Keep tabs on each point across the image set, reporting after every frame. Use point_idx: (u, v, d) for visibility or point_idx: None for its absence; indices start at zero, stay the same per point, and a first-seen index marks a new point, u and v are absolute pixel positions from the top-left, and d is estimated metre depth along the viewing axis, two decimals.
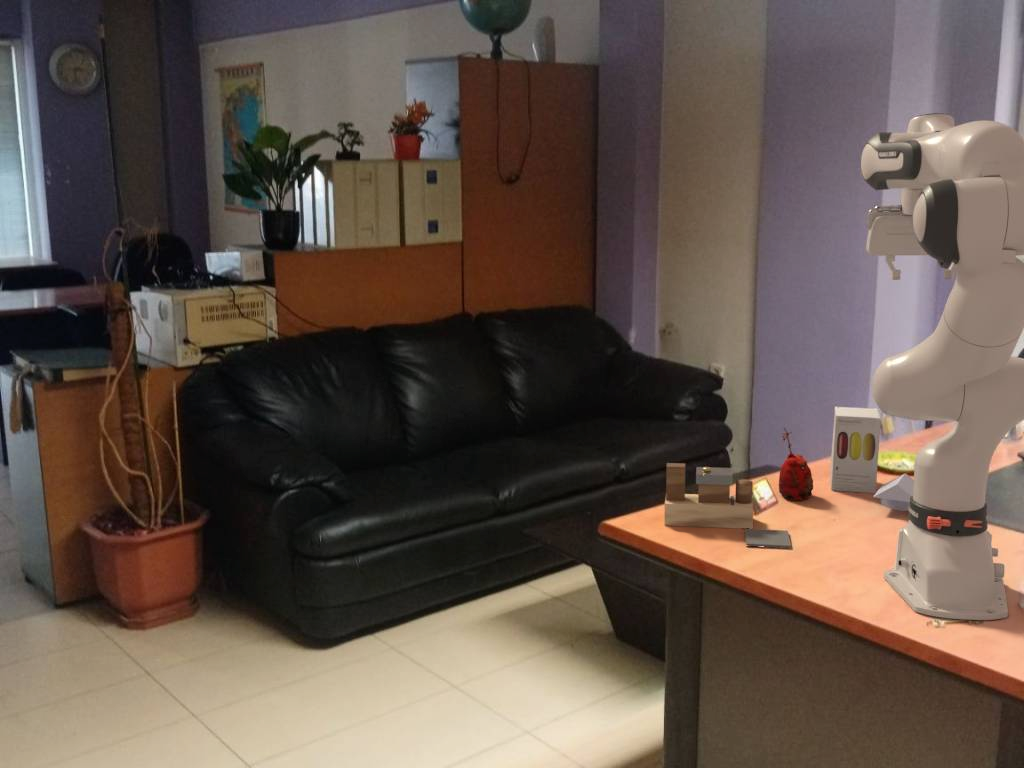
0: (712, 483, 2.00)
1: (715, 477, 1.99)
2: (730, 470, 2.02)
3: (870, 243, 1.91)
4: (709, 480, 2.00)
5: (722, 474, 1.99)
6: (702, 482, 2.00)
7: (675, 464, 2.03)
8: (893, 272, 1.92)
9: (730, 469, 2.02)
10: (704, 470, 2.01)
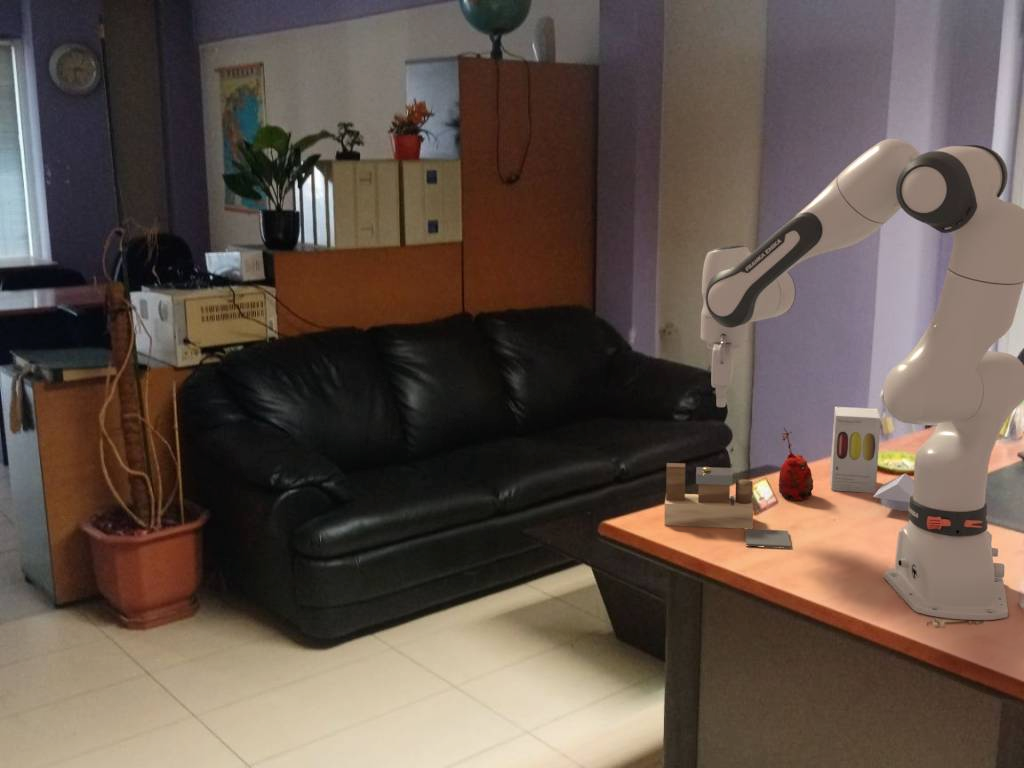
0: (712, 483, 2.00)
1: (715, 477, 1.99)
2: (730, 470, 2.02)
3: (730, 376, 1.88)
4: (709, 480, 2.00)
5: (722, 474, 1.99)
6: (702, 482, 2.00)
7: (675, 464, 2.03)
8: (725, 399, 1.93)
9: (730, 469, 2.02)
10: (704, 470, 2.01)
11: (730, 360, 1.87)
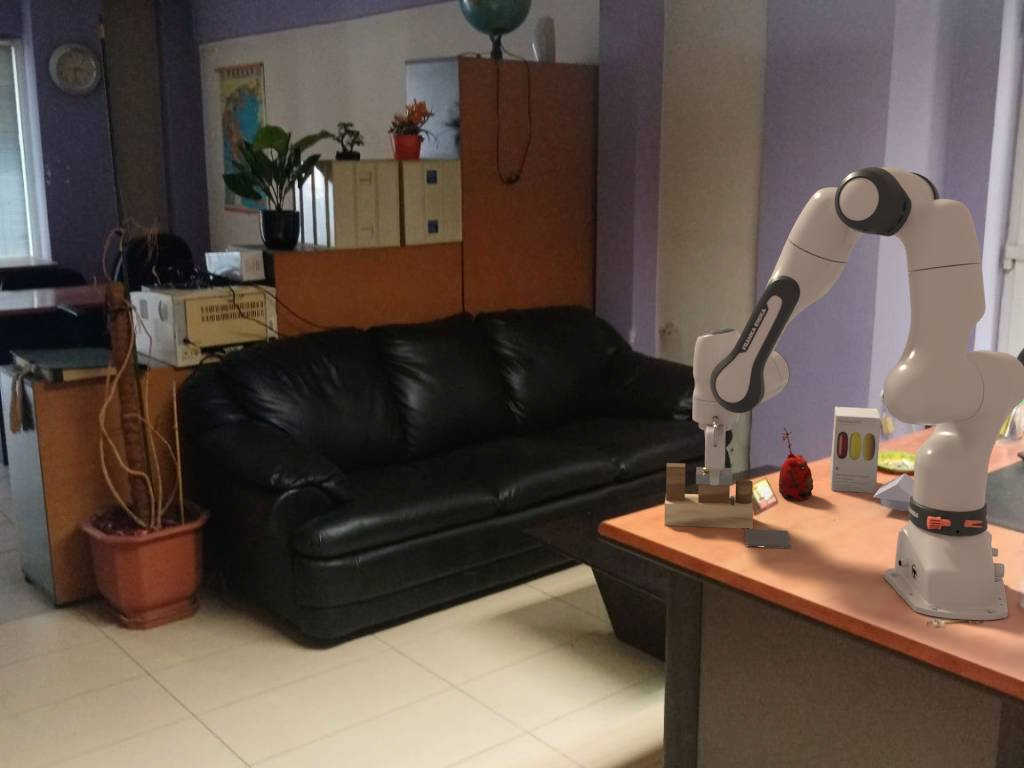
0: None
1: None
2: (730, 470, 2.02)
3: (724, 459, 1.91)
4: (709, 480, 2.00)
5: (722, 474, 1.99)
6: (702, 482, 2.00)
7: (675, 464, 2.03)
8: None
9: (730, 469, 2.02)
10: (704, 470, 2.01)
11: (723, 443, 1.90)
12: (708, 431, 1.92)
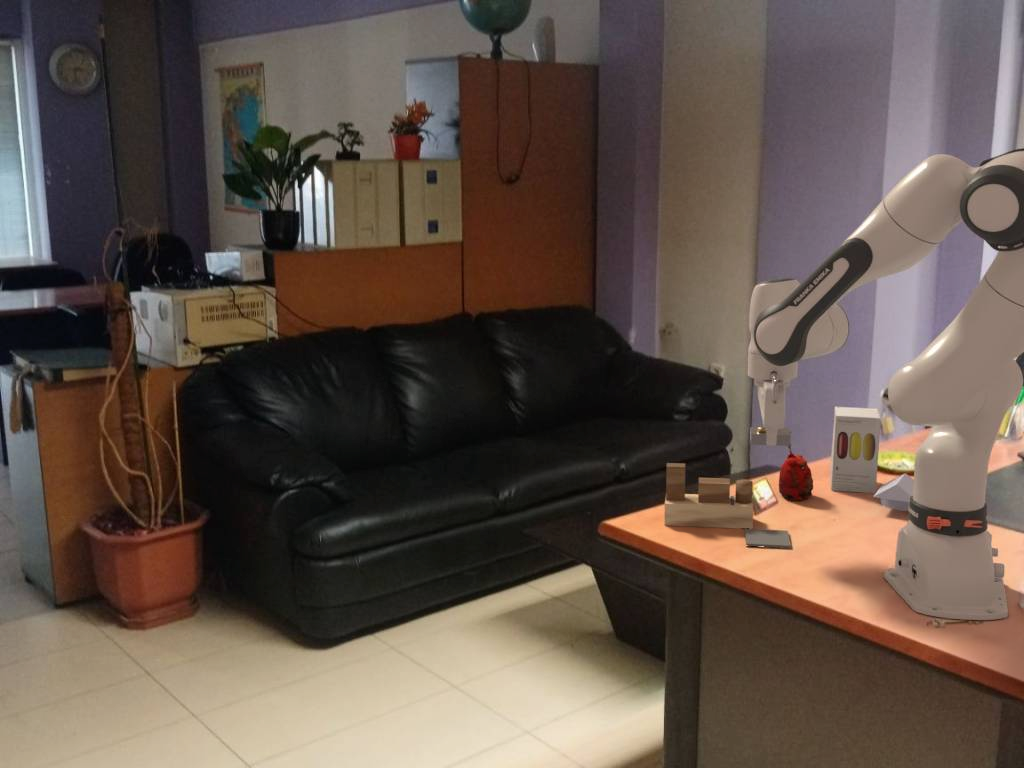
0: None
1: None
2: (787, 430, 1.89)
3: (784, 416, 1.78)
4: (765, 440, 1.87)
5: (779, 434, 1.86)
6: (758, 442, 1.87)
7: (675, 464, 2.03)
8: (776, 438, 1.85)
9: (787, 429, 1.90)
10: (759, 430, 1.89)
11: (783, 399, 1.78)
12: (767, 387, 1.79)
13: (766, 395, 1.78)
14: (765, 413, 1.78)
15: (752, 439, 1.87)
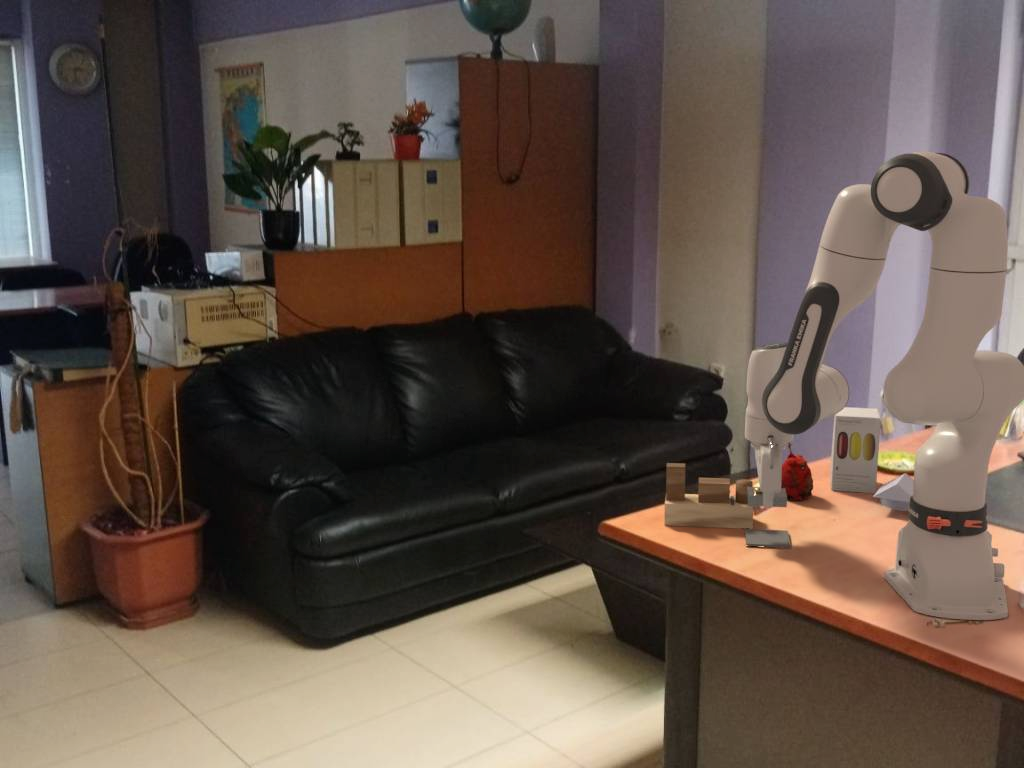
0: None
1: None
2: (783, 491, 1.92)
3: (780, 481, 1.81)
4: (762, 501, 1.89)
5: (776, 496, 1.89)
6: (754, 504, 1.90)
7: (675, 464, 2.03)
8: (772, 500, 1.88)
9: (783, 490, 1.92)
10: (756, 491, 1.91)
11: (780, 465, 1.80)
12: (764, 452, 1.81)
13: (763, 460, 1.81)
14: (762, 478, 1.81)
15: (749, 500, 1.90)
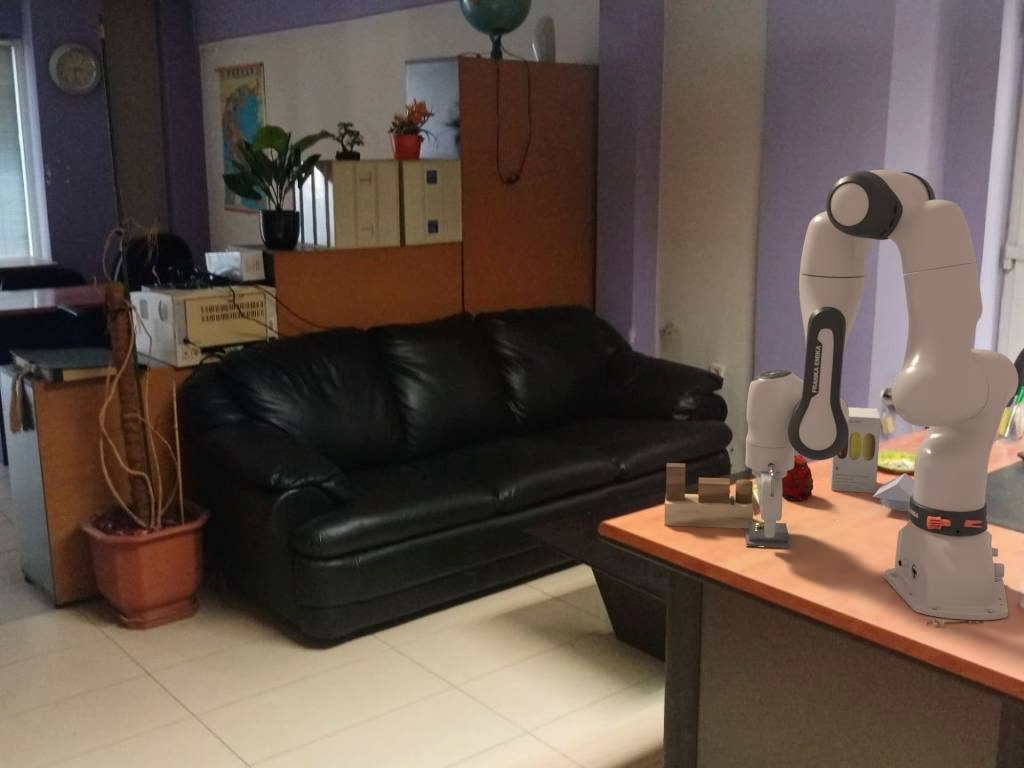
0: (766, 540, 1.91)
1: None
2: (784, 526, 1.93)
3: (781, 509, 1.82)
4: (762, 537, 1.91)
5: (777, 531, 1.90)
6: (755, 539, 1.91)
7: (675, 464, 2.03)
8: None
9: (784, 525, 1.93)
10: (757, 526, 1.92)
11: (781, 493, 1.81)
12: (764, 480, 1.83)
13: (763, 488, 1.82)
14: (762, 506, 1.82)
15: (750, 535, 1.91)
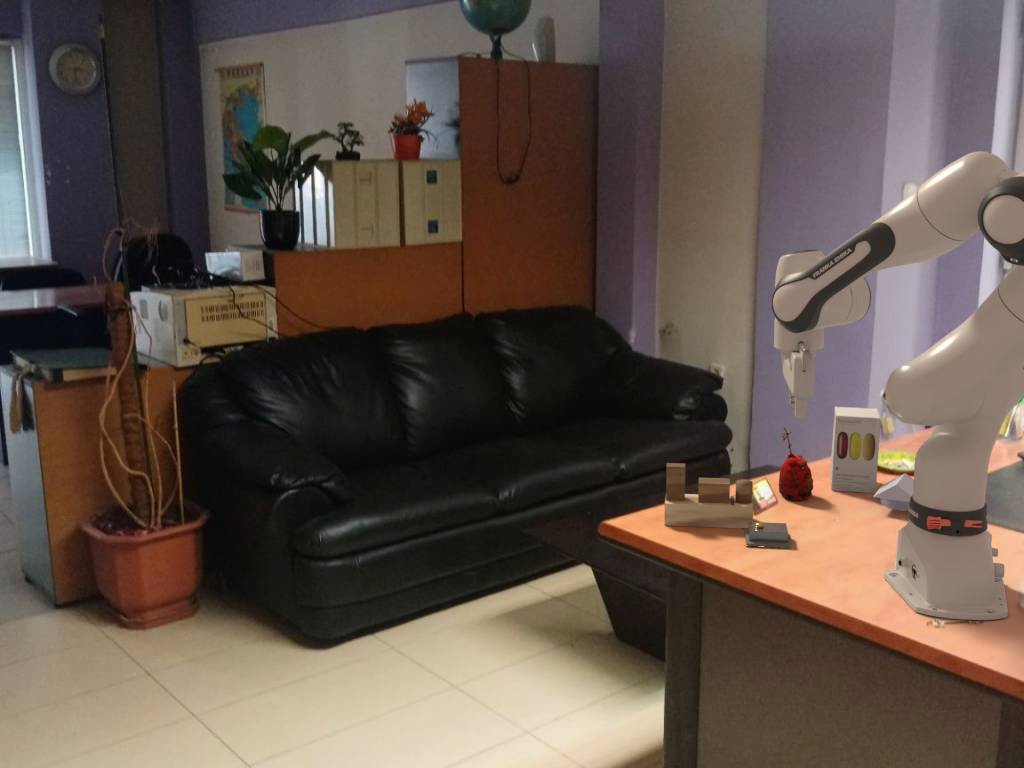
0: (766, 540, 1.91)
1: (769, 534, 1.90)
2: (784, 526, 1.93)
3: (813, 385, 1.80)
4: (762, 537, 1.91)
5: (777, 531, 1.90)
6: (755, 539, 1.91)
7: (675, 464, 2.03)
8: (805, 410, 1.85)
9: (784, 525, 1.93)
10: (757, 526, 1.92)
11: (813, 368, 1.79)
12: (795, 356, 1.81)
13: (795, 364, 1.80)
14: (794, 382, 1.80)
15: (750, 535, 1.91)
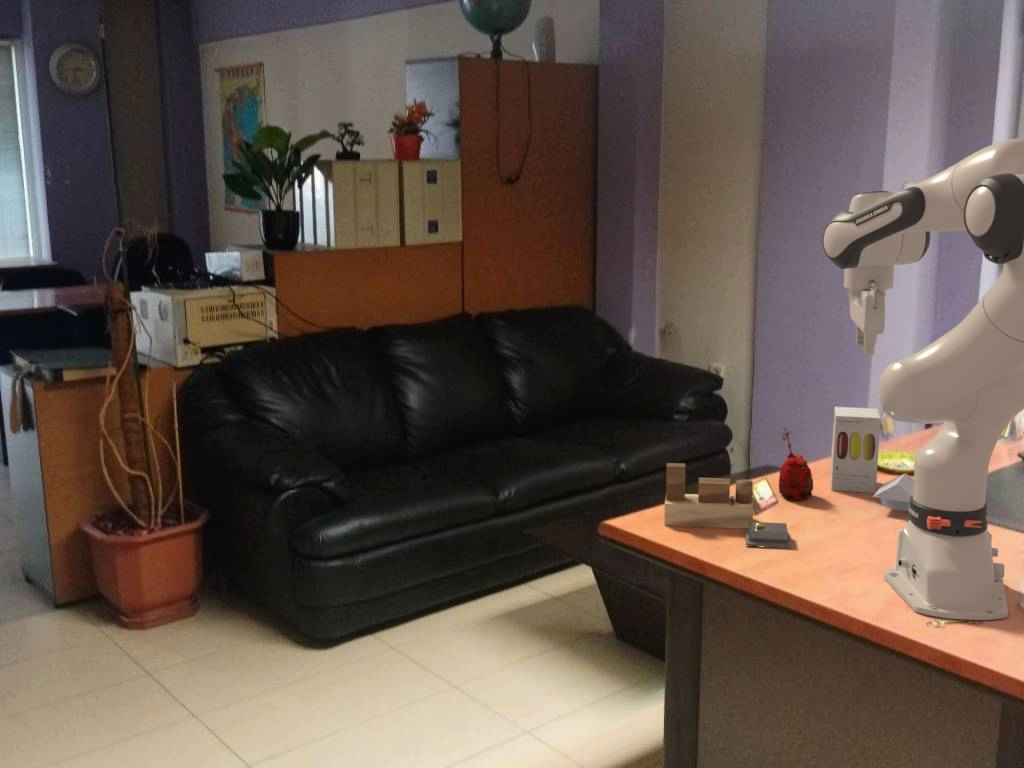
0: (766, 540, 1.91)
1: (769, 534, 1.90)
2: (784, 526, 1.93)
3: (884, 322, 1.85)
4: (762, 537, 1.91)
5: (777, 531, 1.90)
6: (755, 539, 1.91)
7: (675, 464, 2.03)
8: (874, 347, 1.91)
9: (784, 525, 1.93)
10: (757, 526, 1.92)
11: (884, 305, 1.85)
12: (867, 294, 1.86)
13: (866, 301, 1.85)
14: (865, 319, 1.85)
15: (750, 535, 1.91)
